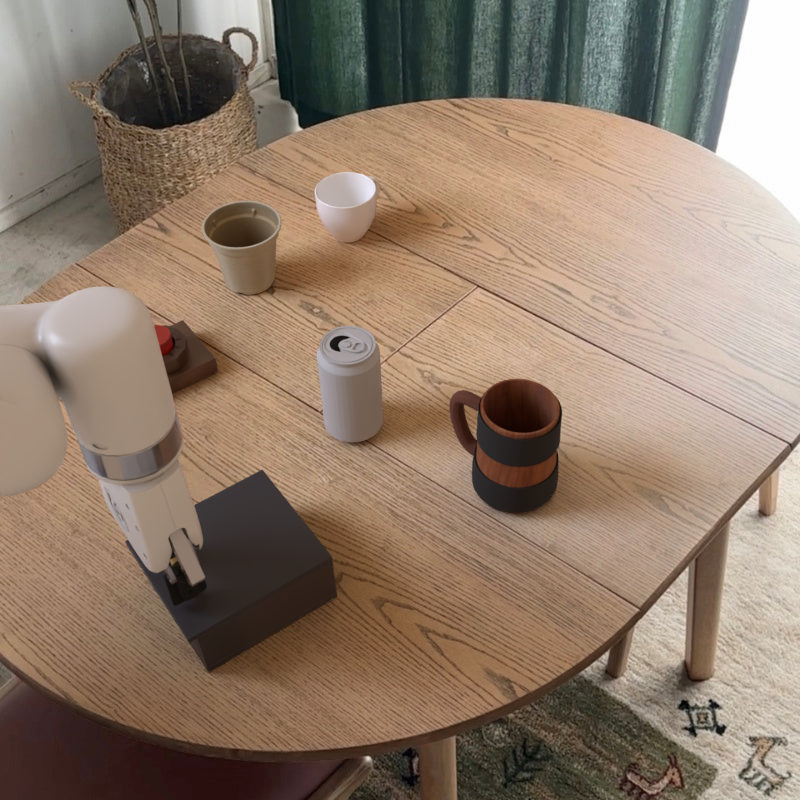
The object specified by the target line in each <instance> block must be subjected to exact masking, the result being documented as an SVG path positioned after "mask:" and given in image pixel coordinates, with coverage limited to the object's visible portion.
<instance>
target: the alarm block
mask: <svg viewBox="0 0 800 800" xmlns="http://www.w3.org/2000/svg"><path fill="white" fill-rule="evenodd" d="M161 326H165V327H166V328H168V329H169V331H170V334H171V338H172V342H173V348H172V350H171V351H170V352H169V353H168V354H167V355H165V356H163V361H164V365H165V369H166V373H167V376H168V380H169V384H170V388H171V391H172V395H174V394H175V393H177V392H180V391H182V390H183V389H185V388H187V387H189V386H191V385H194V384H195V383H198V382H200V381H203V380H205V379H206V378H209V377H210V376H212V375H215V374H217V373H218V372H219V369H218V364H217V359H216V357H215V356H214V354H213V353H212V352H211V351H210V350H209V349H208V348H207V347H206V345H205V344H204V343H203V342H202V341H201V339H200V338H199V337H198V336H197V335H196V334H195V332H194V331H193V330H192V329H191V327H190V326H189V325H188V324H187V323H186V321H184V319H182V320H180V321H178V322H176V323H173V324H170V325H166V324H164V325H161Z"/></svg>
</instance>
